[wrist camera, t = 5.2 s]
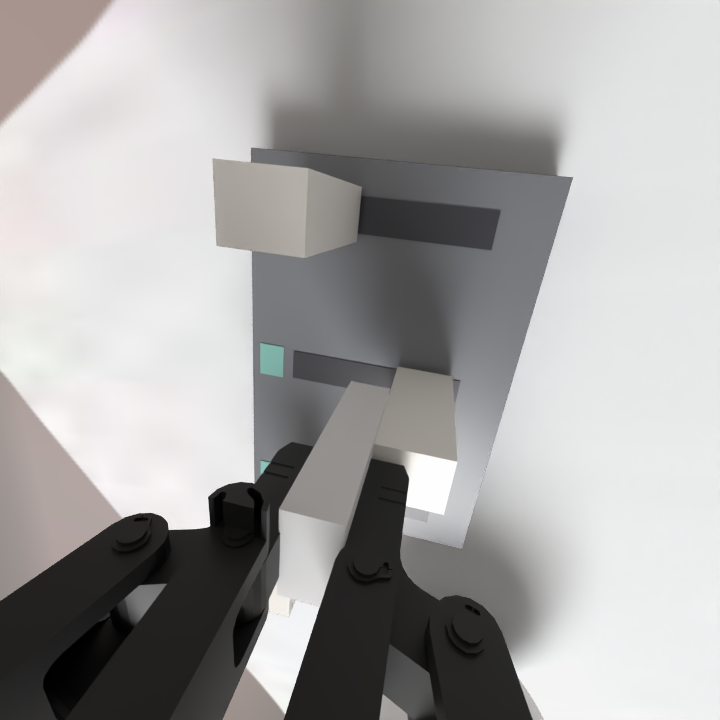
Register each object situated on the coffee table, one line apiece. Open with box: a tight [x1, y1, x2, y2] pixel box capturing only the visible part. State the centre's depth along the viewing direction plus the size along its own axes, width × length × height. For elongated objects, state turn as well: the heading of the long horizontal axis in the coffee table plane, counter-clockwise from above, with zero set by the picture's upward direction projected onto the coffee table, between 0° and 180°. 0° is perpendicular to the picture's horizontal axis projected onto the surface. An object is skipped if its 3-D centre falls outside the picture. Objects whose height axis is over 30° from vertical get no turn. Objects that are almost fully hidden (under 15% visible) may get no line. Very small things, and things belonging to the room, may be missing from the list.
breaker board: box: [251, 148, 573, 549], centre depth 18 cm, size 12×18×2 cm, turn 174°
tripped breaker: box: [372, 367, 457, 515], centre depth 14 cm, size 2×2×6 cm
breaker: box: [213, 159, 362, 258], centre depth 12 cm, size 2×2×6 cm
